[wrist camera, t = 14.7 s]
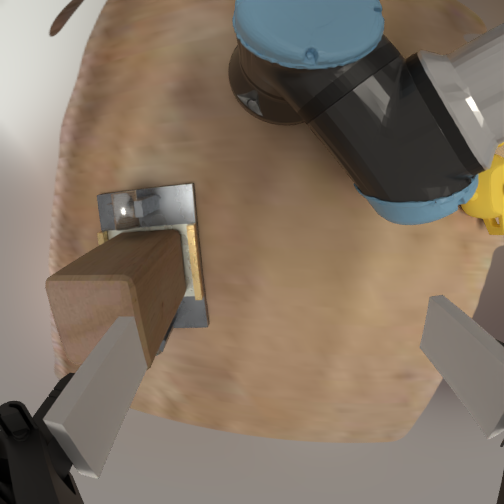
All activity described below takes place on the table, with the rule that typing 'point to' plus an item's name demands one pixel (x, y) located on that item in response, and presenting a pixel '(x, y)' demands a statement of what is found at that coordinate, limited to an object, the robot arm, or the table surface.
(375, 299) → the table surface
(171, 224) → the grey metal fixture stand
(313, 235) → the table surface
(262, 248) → the table surface
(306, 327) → the table surface
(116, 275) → the wooden block
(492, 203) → the yellow rounded piece
